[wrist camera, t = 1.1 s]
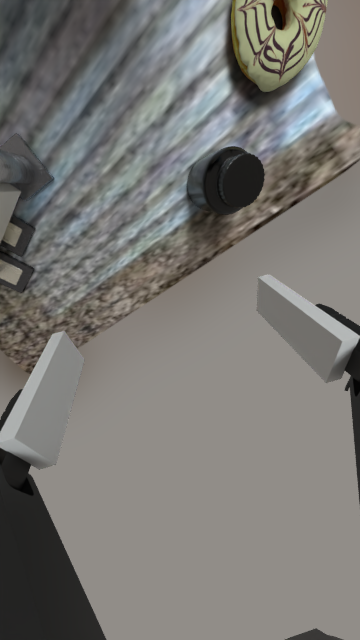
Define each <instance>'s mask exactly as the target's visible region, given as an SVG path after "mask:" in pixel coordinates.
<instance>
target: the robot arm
mask: <svg viewBox="0 0 360 640" xmlns="http://www.w3.org/2000/svg"><path fill="white" fill-rule="evenodd" d="M257 311H258V312H259V314H260V315H262V317H263V318H264V319H265V320H266V321H267V322H268V323H269V324H270V325H271V326H272V327H273V328H274V329H275V330H276V331H277V332H278V333H279V334H280V335H281V337H282V338H283V339H284V340H285V341H286V342H287V343H288V344H289V345H290V346H291V347H292V348H293V349H294V350H295V351H296V352H297V353H298V354H299V355H300V356H301V357H302V358H303V359H304V360H305V362H307V364H308V365H309V366H311V368H312V369H313V370H314V371H315V372H316V373H317V374H318V375H319V376H320V377H321V378H322V379H323V380H324V381H325V382H326V383H328V382H331V381H334V380H338V379H341V378H342V375H343V373H344V371H346V372H348V373H349V374H350V375H351V377H350V379H349V381H348V383H347V385H346V387H345V391H348V389H349V387H350V395H351V407H352V419H353V430H354V442H355V454H356V466H357V478H358V490H359V502H360V326H359V325H357V324H355V323H354V322H352V321H351V320H349V319H346V317H345V316H343V315H341V314H339V313H338V312H337V311H335V310H334V309H332V308H330V307H327V306H325V305H322V304H317V305H313V304H312V303H310V302H309V301H308V300H306V299H305V298H303V297H301V296H300V295H299V294H297V293H296V292H294V291H293V290H291V289H290V288H288V287H287V286H286V285H284V284H283V283H281V282H280V281H278V280H277V279H275V278H274V277H272V276H271V275H269V274H268V275H264V276H261V277H258V292H257ZM84 361H85V359H84V358H83V356H82V355H81V353H80V352H79V351H78V349H77V348H76V346H75V345H74V344H73V342H72V341H71V339H70V338H69V337H68V335H67V334H66V332H65V331H62V332H58V333H54V334H52V336H51V338H50V340H49V342H48V343H47V345H46V347H45V349H44V351H43V353H42V355H41V357H40V358H39V360H38V362H37V364H36V366H35V368H34V370H33V372H32V373H31V375H30V377H29V379H28V381H27V383H26V385H25V387H24V389H21V390H19V391H18V392H17V393H16V394H15V396H14V397H13V398H12V399H11V400H10V402H9V404H8V406H7V408H6V411H5V412H4V413H3V415H2V416H1V420H0V640H106V638H105V636H104V634H103V631H102V629H101V627H100V625H99V622H98V620H97V618H96V616H95V614H94V611H93V609H92V607H91V605H90V603H89V600H88V598H87V596H86V594H85V592H84V589H83V588H82V585H81V583H80V581H79V578H78V576H77V574H76V572H75V570H74V567H73V565H72V563H71V561H70V559H69V556H68V554H67V552H66V550H65V548H64V545H63V544H62V541H61V539H60V537H59V535H58V532H57V530H56V528H55V526H54V523H53V521H52V519H51V517H50V515H49V512H48V510H47V508H46V506H45V504H44V501H43V499H42V497H41V495H40V493H39V491H38V488H37V486H36V484H35V482H34V480H33V478H32V476H31V475H30V474H28V472H29V469H30V466H31V465H32V466H34V467H36V468H37V469H39V470H40V469H43V468H46V467H49V466H52V465H56V463H57V459H58V455H59V451H60V447H61V444H62V441H63V437H64V433H65V430H66V426H67V423H68V419H69V415H70V412H71V408H72V404H73V401H74V397H75V393H76V390H77V386H78V382H79V379H80V375H81V372H82V368H83V364H84ZM285 640H342V639H340V638H337V637H334V636H329V635H326V634H324V633H323V632H321V631H320V630H318V629H313V630H311V631H308V632H305V633H302V634H299V635H296V636H293V637H290V638H288V639H285Z"/></svg>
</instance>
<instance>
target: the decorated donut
mask: <svg viewBox="0 0 360 640" xmlns="http://www.w3.org/2000/svg"><path fill="white" fill-rule="evenodd" d="M327 1H328V0H233V3H232V13H231V30H232V41H233V49H234V53H235V56H236V59H237V61H238V64H239V66H240V68H241V71H242V72H243V73H244V74H245V76H246V77H247V78H248V79H250V80H251V81H252V82H254V83H255V84H257V85H258V87H259V89H260V90H261V91H263V92H269V91H272V90H275V89H276V88H278V87H280V86H282V85H284V84H286V83H287V82H288V81H289V80H290V79H292V78H293V77H294V76H296V75H297V74H298V72H299V71H301V70H302V68H303V67H304V65H305V64H306V63H307V62H308V60H309V59H310V57H311V56H312V54H313V52H314V51H315V49H316V47H317V45H318V42H319V39H320V36H321V33H322V29H323V24H324V19H325V13H326V8H327V7H326V6H327ZM273 5H276V6H277V7H278V8H279V10H280V12H281V15H282V20H283V28H282V30H279V29H276V26H275V23H274V20H273V19H272V16H271V9H272V6H273Z"/></svg>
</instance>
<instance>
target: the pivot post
mask: <svg viewBox="0 0 360 640" xmlns="http://www.w3.org/2000/svg"><path fill="white" fill-rule="evenodd" d="M53 179H54V178H53V177H52V175H51V174H50V173H49V172H48V170H47V169H46V168H45V167H44V165H43V164H42V163H41V162H40V160H39V159H38V158H37V157H36V155H35V154H34V153H33V151H32V150H31V149H30V148H29V146H28V145H27V144H26V143H25V141H24V140H23V139H22V138H21V136H20V135H18V134H15V135H14V136H12V137H11V138H10V139H9V140H8V141H7V142H6V143H5V144H3V145H2V146H1V147H0V183H9V184H11V185H12V186H14V187H15V188H17V189H18V190H20V191H21V193H20V197H21V198H22V199H23V200H24V201H27V200H28V199H29V198H31V197H32V196H33V195H34V194H36V193H37V192H38V191H39V190H41V189H42V188H43V187H44V186H46V185H47V184H48V183H49V182H51V181H52V180H53Z"/></svg>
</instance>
